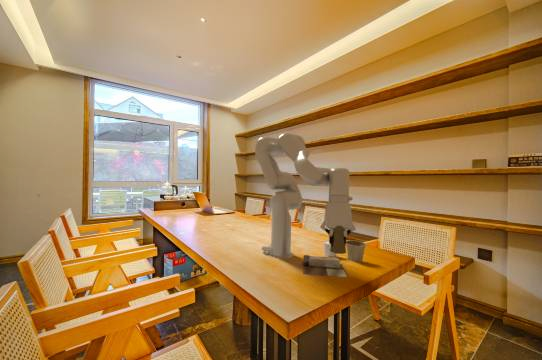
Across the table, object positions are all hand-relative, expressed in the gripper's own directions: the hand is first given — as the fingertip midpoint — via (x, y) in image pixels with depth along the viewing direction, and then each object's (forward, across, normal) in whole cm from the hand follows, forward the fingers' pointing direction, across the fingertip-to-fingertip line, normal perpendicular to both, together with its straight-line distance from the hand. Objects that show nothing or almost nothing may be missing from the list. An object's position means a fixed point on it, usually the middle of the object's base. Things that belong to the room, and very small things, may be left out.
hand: (337, 245), depth 93 cm
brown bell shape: (+2, 0, 0) cm, 2 cm away
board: (+12, +5, -4) cm, 13 cm away
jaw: (+11, +6, -5) cm, 13 cm away
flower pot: (+12, -11, -19) cm, 25 cm away
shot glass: (+12, 0, -23) cm, 26 cm away
